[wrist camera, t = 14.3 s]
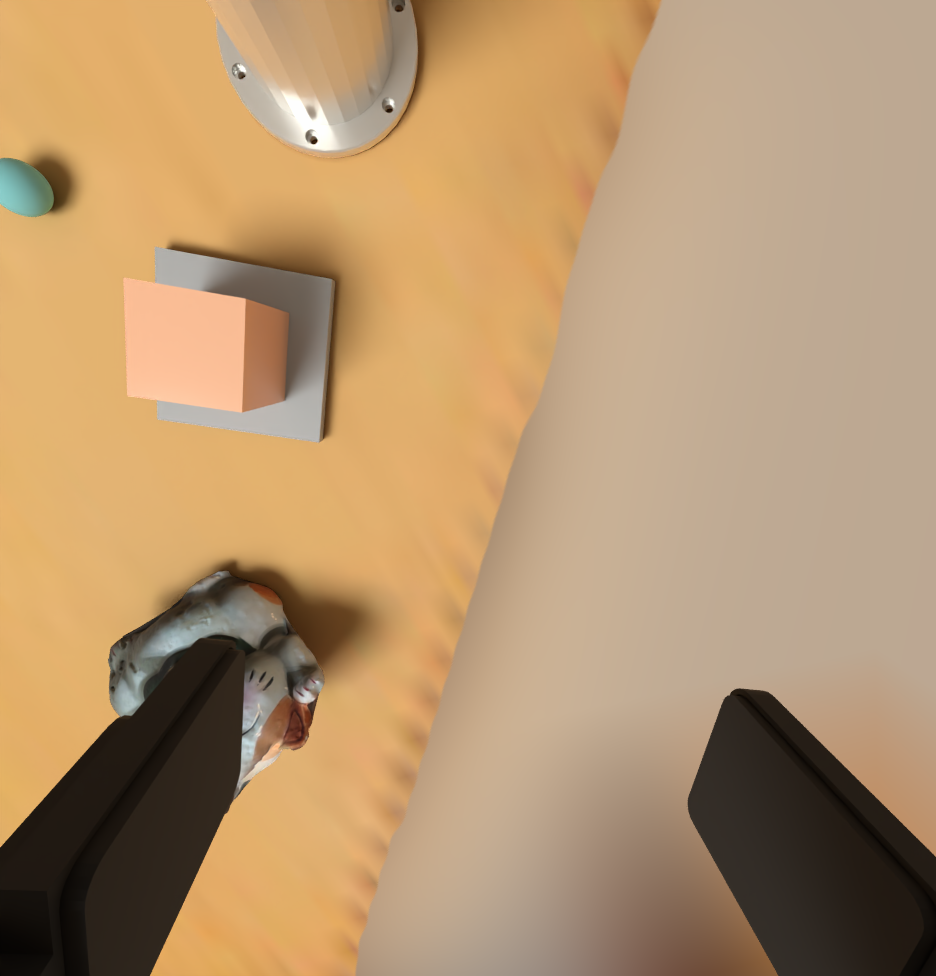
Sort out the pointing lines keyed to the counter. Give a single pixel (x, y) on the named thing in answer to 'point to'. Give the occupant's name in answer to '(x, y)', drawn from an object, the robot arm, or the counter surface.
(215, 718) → the robot arm
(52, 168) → the counter surface
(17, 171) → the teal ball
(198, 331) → the peach rectangular block
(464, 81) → the counter surface
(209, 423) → the slate board
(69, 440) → the counter surface
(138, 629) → the lucky cat figurine
